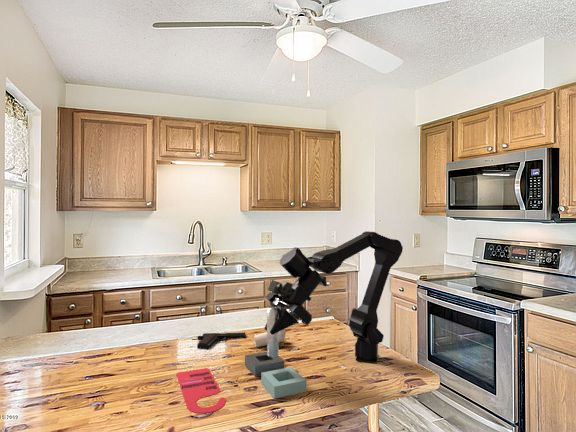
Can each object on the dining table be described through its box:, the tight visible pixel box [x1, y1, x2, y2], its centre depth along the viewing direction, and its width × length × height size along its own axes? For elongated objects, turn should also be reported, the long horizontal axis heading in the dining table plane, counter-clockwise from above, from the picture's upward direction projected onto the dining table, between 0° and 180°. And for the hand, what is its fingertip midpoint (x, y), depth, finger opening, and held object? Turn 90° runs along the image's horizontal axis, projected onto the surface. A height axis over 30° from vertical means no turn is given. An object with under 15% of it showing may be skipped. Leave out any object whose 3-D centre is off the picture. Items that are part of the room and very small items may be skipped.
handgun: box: [196, 331, 246, 350], centre depth 136 cm, size 2×17×12 cm
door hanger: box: [175, 367, 227, 414], centre depth 100 cm, size 9×1×25 cm
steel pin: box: [266, 306, 279, 357], centre depth 106 cm, size 3×3×13 cm
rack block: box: [260, 366, 307, 399], centre depth 101 cm, size 9×9×3 cm
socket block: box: [244, 351, 285, 378], centre depth 114 cm, size 9×9×3 cm
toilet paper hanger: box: [254, 329, 286, 348], centre depth 141 cm, size 21×11×7 cm, turn 7°
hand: (268, 331), depth 105 cm, fingers closed on steel pin, 3 cm apart
